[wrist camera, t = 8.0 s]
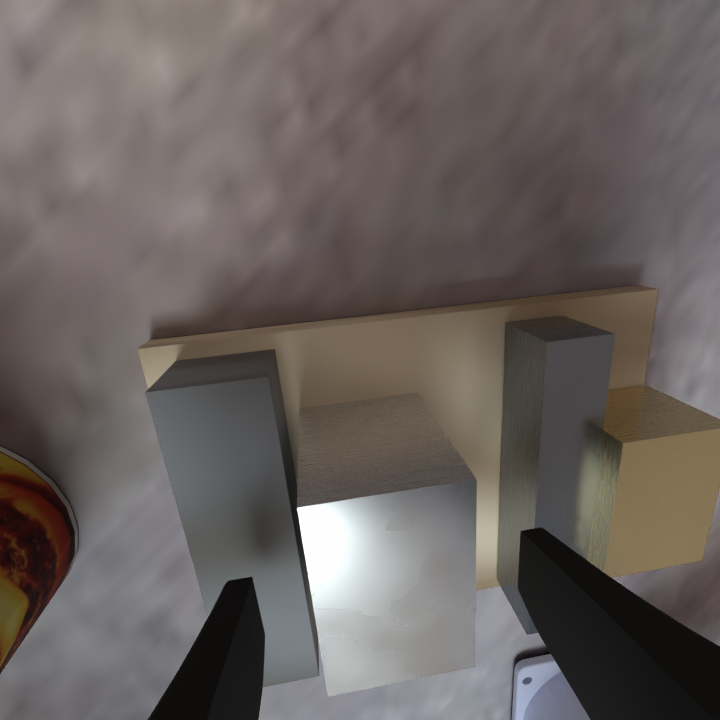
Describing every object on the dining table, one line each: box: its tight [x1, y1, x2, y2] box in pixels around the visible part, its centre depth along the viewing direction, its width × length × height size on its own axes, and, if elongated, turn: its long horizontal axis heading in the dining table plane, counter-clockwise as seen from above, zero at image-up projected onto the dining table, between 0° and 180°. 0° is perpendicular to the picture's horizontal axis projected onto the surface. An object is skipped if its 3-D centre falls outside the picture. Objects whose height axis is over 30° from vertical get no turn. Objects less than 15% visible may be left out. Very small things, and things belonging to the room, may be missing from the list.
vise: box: [137, 285, 659, 687], centre depth 14 cm, size 12×17×4 cm
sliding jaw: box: [497, 316, 720, 635], centre depth 14 cm, size 11×6×3 cm, turn 5°
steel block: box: [297, 393, 477, 697], centre depth 12 cm, size 4×6×5 cm, turn 5°
